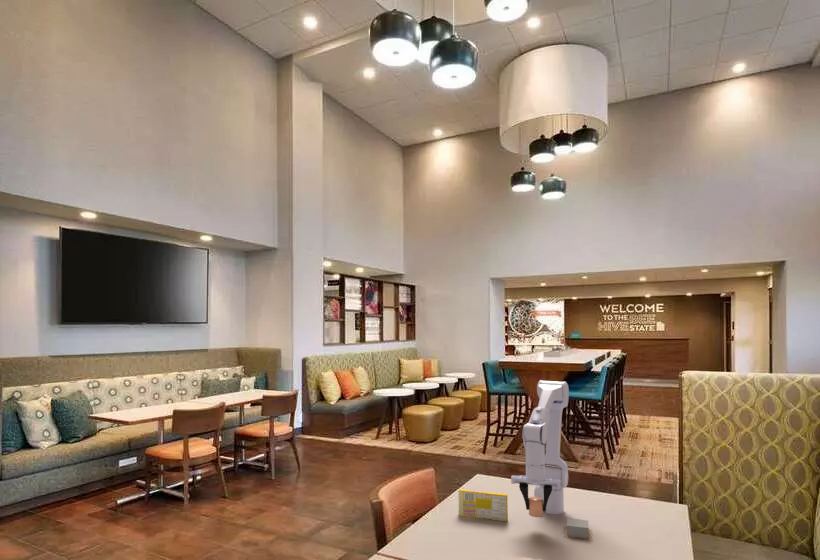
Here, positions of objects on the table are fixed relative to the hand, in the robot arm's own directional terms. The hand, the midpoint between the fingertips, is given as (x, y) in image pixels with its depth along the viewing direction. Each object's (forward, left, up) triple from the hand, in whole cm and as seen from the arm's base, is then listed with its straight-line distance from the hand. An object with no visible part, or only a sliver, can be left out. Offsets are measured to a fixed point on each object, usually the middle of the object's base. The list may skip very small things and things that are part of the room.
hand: (536, 509), depth 151 cm
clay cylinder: (0, 0, -2) cm, 2 cm away
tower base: (+8, +9, -8) cm, 15 cm away
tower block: (+8, +9, -6) cm, 14 cm away
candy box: (-19, -5, -8) cm, 21 cm away
